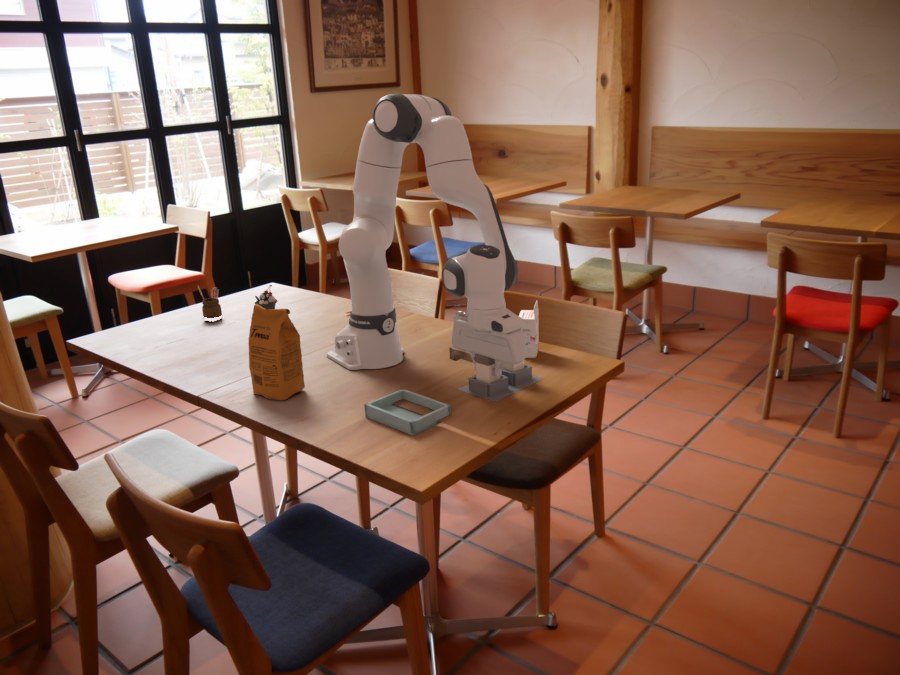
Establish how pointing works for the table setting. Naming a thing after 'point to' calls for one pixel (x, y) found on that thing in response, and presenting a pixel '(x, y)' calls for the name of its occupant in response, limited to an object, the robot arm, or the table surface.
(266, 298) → the sundae
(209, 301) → the utensil holder
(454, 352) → the dice corral
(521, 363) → the block
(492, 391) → the block
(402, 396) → the tray
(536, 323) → the ink cartridge box
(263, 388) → the coffee package
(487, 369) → the block
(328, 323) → the table surface
